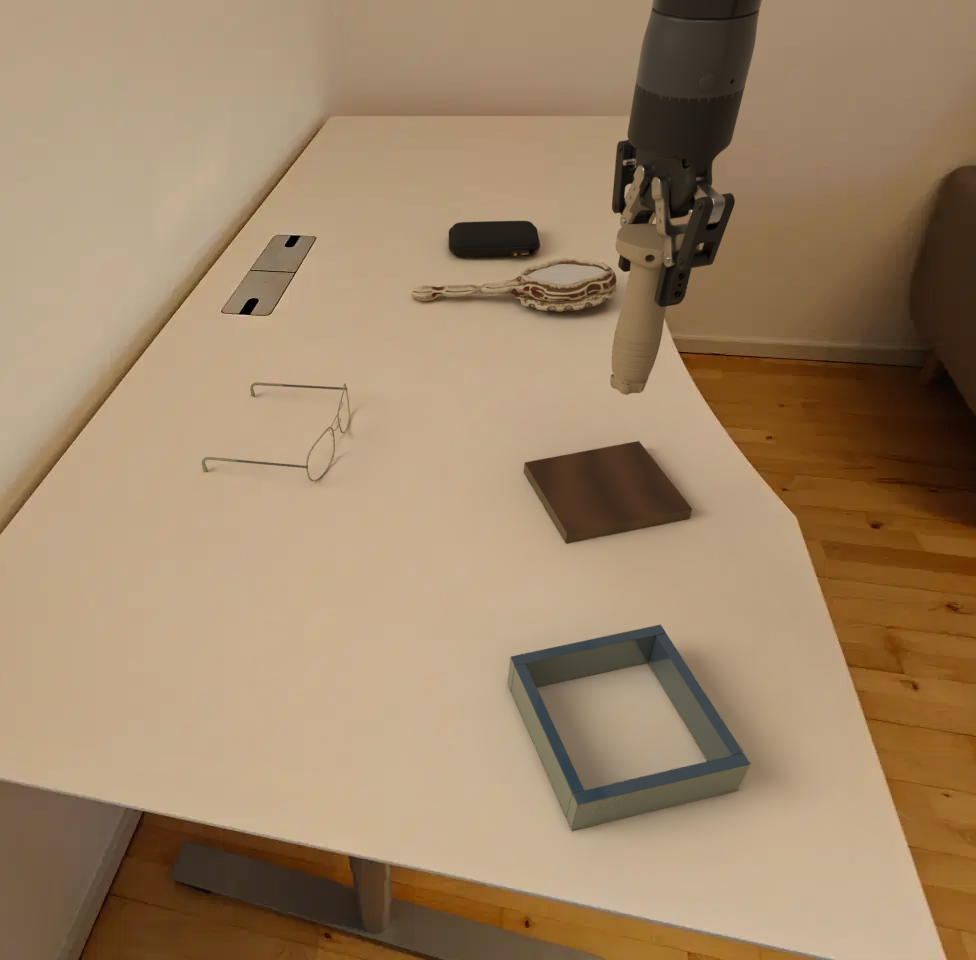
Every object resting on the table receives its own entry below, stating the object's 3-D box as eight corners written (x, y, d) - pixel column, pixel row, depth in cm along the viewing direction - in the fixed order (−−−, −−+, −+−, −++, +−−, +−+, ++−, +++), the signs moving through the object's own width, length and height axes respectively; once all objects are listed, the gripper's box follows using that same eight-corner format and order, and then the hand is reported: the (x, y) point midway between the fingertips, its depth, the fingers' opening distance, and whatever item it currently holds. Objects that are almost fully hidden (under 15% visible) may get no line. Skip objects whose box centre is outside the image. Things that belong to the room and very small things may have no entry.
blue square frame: (652, 651, 77) (660, 624, 74) (738, 790, 66) (751, 764, 64) (507, 683, 75) (510, 656, 73) (571, 830, 65) (577, 805, 62)
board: (636, 450, 98) (638, 440, 97) (689, 518, 89) (692, 508, 88) (523, 472, 97) (524, 462, 96) (565, 543, 88) (567, 533, 87)
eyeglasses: (320, 490, 97) (317, 456, 93) (202, 471, 101) (195, 439, 97) (358, 409, 108) (356, 377, 105) (251, 395, 112) (246, 364, 109)
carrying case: (448, 264, 136) (541, 263, 135) (449, 247, 134) (542, 245, 133) (448, 236, 144) (535, 234, 143) (448, 219, 142) (536, 217, 141)
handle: (599, 366, 82) (624, 219, 72) (667, 380, 79) (703, 230, 69) (586, 393, 78) (611, 243, 69) (657, 408, 76) (693, 255, 66)
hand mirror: (414, 265, 132) (614, 251, 125) (417, 302, 134) (612, 289, 128) (406, 284, 122) (621, 269, 116) (409, 323, 125) (619, 311, 118)
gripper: (799, 99, 56) (735, 319, 67) (686, 46, 67) (648, 243, 78) (695, 114, 55) (648, 335, 66) (598, 58, 66) (572, 256, 77)
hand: (648, 285), depth 72 cm, fingers closed on handle, 6 cm apart
